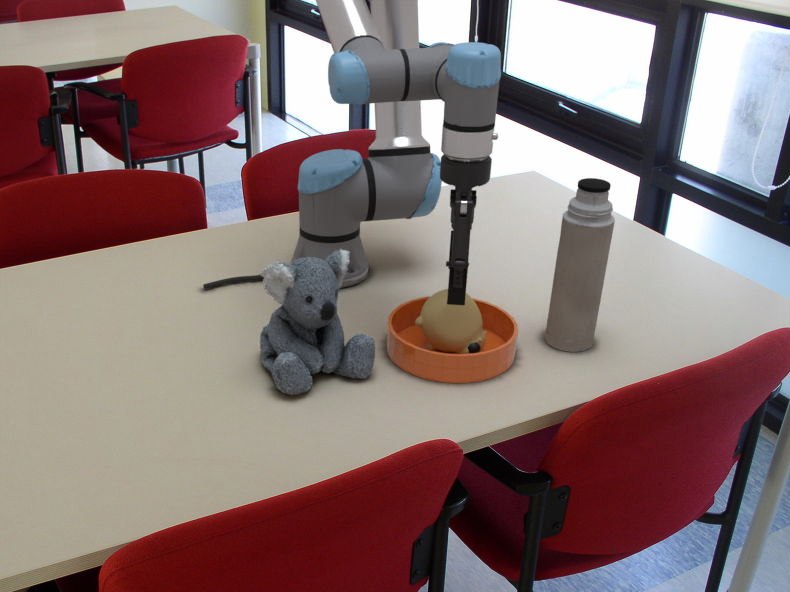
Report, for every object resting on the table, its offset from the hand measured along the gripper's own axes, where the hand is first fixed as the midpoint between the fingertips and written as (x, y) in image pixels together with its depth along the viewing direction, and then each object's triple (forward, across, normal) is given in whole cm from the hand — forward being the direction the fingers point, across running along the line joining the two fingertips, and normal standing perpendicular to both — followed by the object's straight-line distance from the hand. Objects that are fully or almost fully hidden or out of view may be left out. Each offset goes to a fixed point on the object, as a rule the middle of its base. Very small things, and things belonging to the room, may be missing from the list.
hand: (456, 285), depth 145 cm
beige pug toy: (+12, 0, 0) cm, 12 cm away
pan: (+12, 0, 0) cm, 12 cm away
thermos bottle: (+12, +6, -20) cm, 24 cm away
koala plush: (+12, -8, +23) cm, 27 cm away
